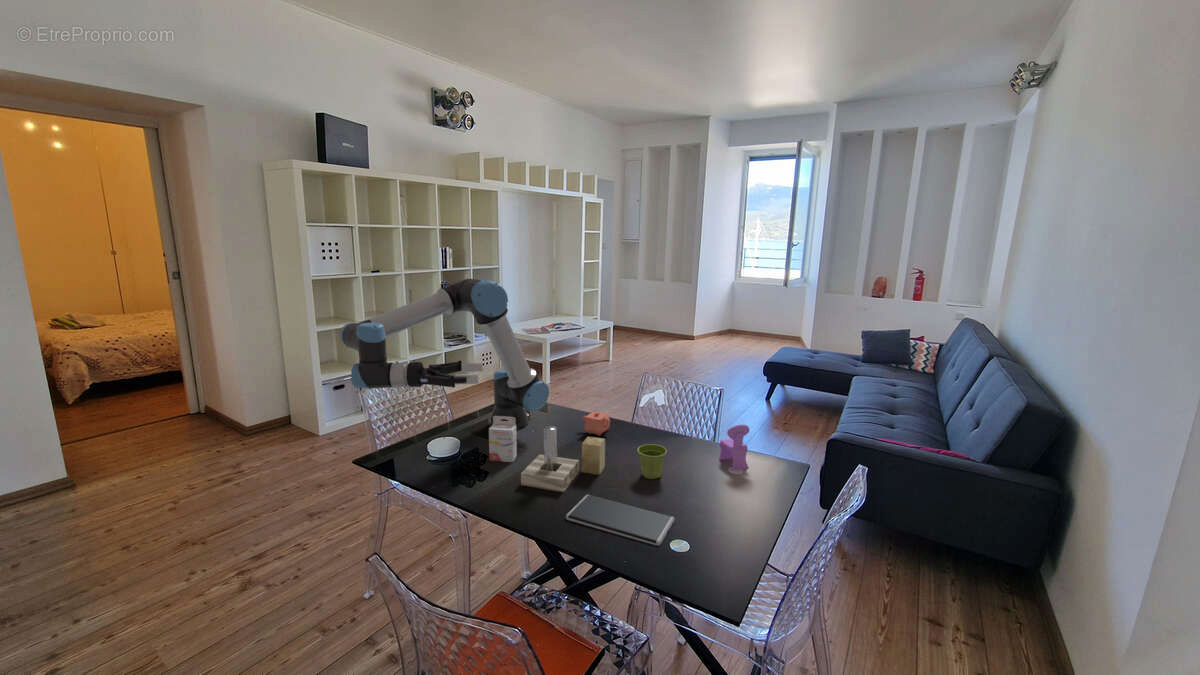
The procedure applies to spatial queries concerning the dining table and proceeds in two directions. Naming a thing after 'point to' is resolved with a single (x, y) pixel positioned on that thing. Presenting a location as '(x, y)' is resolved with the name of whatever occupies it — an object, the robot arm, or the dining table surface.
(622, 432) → the dining table surface
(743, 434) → the toy chair
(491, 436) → the ink cartridge box
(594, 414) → the pink cube teapot
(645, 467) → the plant pot
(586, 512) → the smartphone
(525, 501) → the dining table surface
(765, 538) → the dining table surface
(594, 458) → the square bar
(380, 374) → the robot arm
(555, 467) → the cylinder
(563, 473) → the socket block
